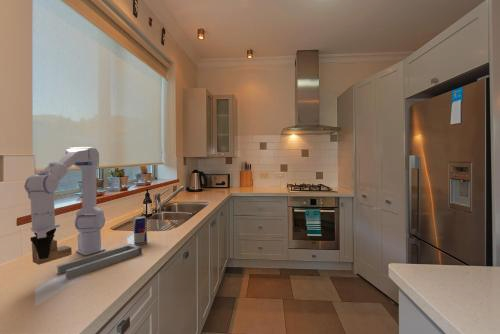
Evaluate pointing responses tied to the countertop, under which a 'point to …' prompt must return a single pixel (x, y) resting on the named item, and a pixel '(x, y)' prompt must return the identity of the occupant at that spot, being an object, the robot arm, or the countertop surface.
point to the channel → (98, 260)
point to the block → (51, 253)
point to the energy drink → (140, 230)
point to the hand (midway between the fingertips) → (45, 255)
